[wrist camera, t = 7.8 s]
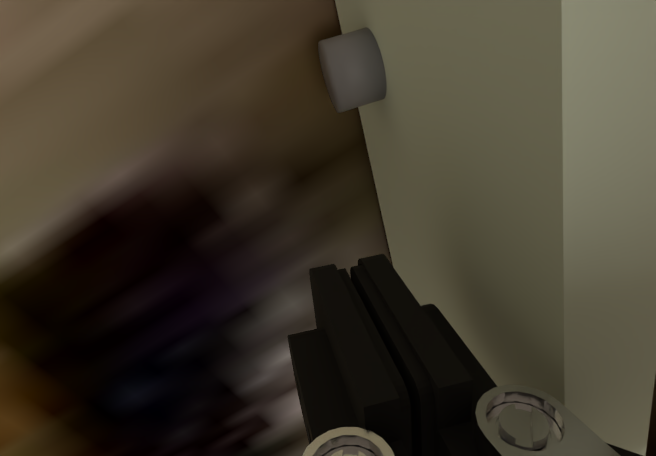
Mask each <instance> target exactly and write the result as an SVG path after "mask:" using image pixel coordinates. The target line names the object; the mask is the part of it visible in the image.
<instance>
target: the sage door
mask: <svg viewBox="0 0 656 456" xmlns="http://www.w3.org/2000/svg"><path fill="white" fill-rule="evenodd" d="M335 4H336V8H337V13H338V17H339V22H340V26H341V31H342V35H338V36H335V37H332V38H328V39H325V40H321V41H319V43H318V51H319V58H320V64H321V69H322V73H323V77H324V80H325V84H326V87H327V90H328V93H329V96H330V99H331V101H332V103H333V106H334V108H335V109H336V111H337V112H338V113H340V112H344V111H347V110H350V109H353V108H357V107H358V109H359V113H360V118H361V122H362V127H363V131H364V136H365V141H366V145H367V150H368V154H369V159H370V163H371V168H372V173H373V177H374V182H375V186H376V191H377V195H378V200H379V205H380V209H381V214H382V218H383V223H384V227H385V232H386V237H387V241H388V246H389V250H390V255H391V259H392V264H393V268H394V269H395V270H396V272H397V273H398V275H399V276H400V277H401V279H402V280H403V282H404V283H405V284H406V286H407V287H408V289H409V290H410V292H411V293H412V294H413V296H414V297H415V299H416V300H417V301H418V303H419V304H420V306H422V305H426V304H434V305H435V306H436V307H437V308H438V309H439V310H440V312H441V313H442V314H443V315H444V317H445V318H446V319H447V321H448V322H449V323H450V325H451V326H452V327H453V329H454V330H455V331H456V333H457V334H458V335H459V336H460V338H461V339H462V340H463V342H464V343H465V344H466V346H467V347H468V348H469V350H470V351H471V352H472V354H473V355H474V356H475V357H476V359H477V360H478V361H479V363H480V364H481V365H482V367H483V368H484V369H485V371H486V372H487V373H488V375H489V376H490V377H491V379H492V380H493V381H494V382H495V384H496V385H497V386H498V387H499V386H503V385H523V386H528V387H532V388H536V389H538V390H540V391H543V392H545V393H547V394H549V395H550V396H552V397H553V398H555V399H556V400H558V401H559V402H560V403H562V404H563V405H564V406H565V407H566V408H567V409H568V410H569V411H571V412H572V413H573V414H574V415H575V416H576V417H577V418H578V419H580V420H581V421H582V422H583V423H584V424H585V425H586V426H587V427H589V428H590V429H591V430H592V431H593V432H594V433H595V434H596V435H598V436H599V437H600V438H601V439H602V440H603V441H604V442H606V443H608V444H611V445H614V446H617V447H620V448H623V449H625V450H628V451H631V452H634V453H637V454H640V455H643V456H646V448H647V439H648V431H649V423H650V415H651V407H652V398H653V390H654V382H655V374H656V0H335Z"/></svg>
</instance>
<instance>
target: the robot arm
mask: <svg viewBox="0 0 656 456" xmlns="http://www.w3.org/2000/svg"><path fill="white" fill-rule="evenodd" d="M309 272H310V281H311V289H312V296H313V303H314V311H315V318H316V326H317V329H314V330H310V331H305V332H301V333H296V334H292V335H288V342H289V348H290V354H291V359H292V365H293V371H294V376H295V381H296V386H297V391H298V396H299V400H300V405H301V409H302V414H303V418H304V423H305V427H306V432H307V436H308V440H309V446H308V447H307V448H306V450H305V452H304V454H303V456H643V455H640V454H637V453H634V452H631V451H628V450H625V449H623V448H620V447H617V446H614V445H611V444H608V443H606V442H604V441H603V440H602V439H601V438H600V437H599V436H598V435H596V434H595V433H594V432H593V431H592V430H591V429H590V428H589V427H587V426H586V425H585V424H584V423H583V422H582V421H581V420H580V419H578V418H577V417H576V416H575V415H574V414H573V413H572V412H571V411H569V410H568V409H567V408H566V407H565V406H564V405H563V404H562V403H560V402H559V401H558V400H556V399H555V398H553V397H552V396H550V395H549V394H547V393H545V392H543V391H540V390H538V389H536V388H532V387H528V386H523V385H503V386H499V387H498V386H497V385H496V384H495V382H494V381H493V380H492V379H491V377H490V376H489V375H488V373H487V372H486V371H485V369H484V368H483V367H482V365H481V364H480V363H479V361H478V360H477V359H476V357H475V356H474V355H473V354H472V352H471V351H470V350H469V348H468V347H467V346H466V344H465V343H464V342H463V340H462V339H461V338H460V336H459V335H458V334H457V333H456V331H455V330H454V329H453V327H452V326H451V325H450V323H449V322H448V321H447V319H446V318H445V317H444V315H443V314H442V313H441V312H440V310H439V309H438V308H437V307H436V306H435V305H434V304H426V305H422V306H420V304H419V303H418V301H417V300H416V299H415V297H414V296H413V294H412V293H411V292H410V290H409V289H408V287H407V286H406V284H405V283H404V282H403V280H402V279H401V277H400V276H399V275H398V273H397V272H396V270H395V269H394V268H393V266H392V265H391V263H390V262H389V260H388V259H387V258H386V256H385V255H384V254H380V255H376V256H371V257H366V258H361V259H359V260H358V266H354V267H351V269H350V274H351V278H350V277H349V275H348V273H347V271H346V269H345V268H344V269H339V270H337V268H336V266H335V264H331V265H326V266H321V267H316V268H311V269H310V270H309Z"/></svg>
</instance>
